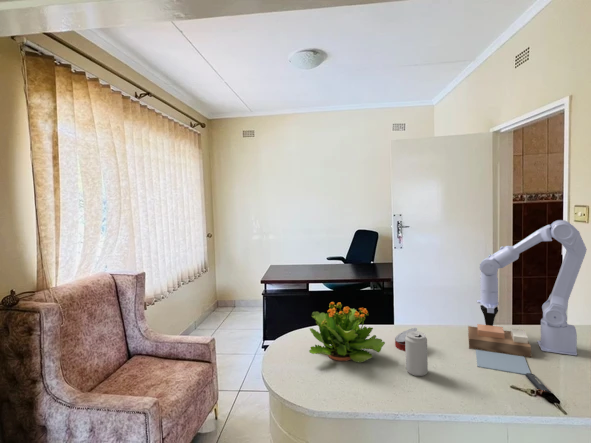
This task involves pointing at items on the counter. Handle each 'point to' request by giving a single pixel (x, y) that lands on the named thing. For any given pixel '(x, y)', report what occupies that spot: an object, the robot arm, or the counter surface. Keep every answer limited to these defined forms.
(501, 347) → the brown wooden block
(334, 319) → the potted flower
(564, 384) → the counter surface
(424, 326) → the counter surface
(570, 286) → the robot arm
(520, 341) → the cream tile
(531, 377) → the usb stick
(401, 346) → the canned food
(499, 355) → the mat
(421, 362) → the beverage can
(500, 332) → the terracotta tile
